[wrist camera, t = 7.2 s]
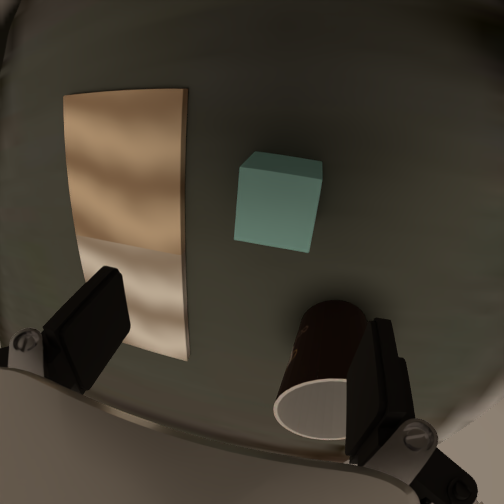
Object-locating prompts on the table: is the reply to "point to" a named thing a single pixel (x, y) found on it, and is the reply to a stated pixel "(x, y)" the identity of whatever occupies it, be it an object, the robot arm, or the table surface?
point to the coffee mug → (320, 371)
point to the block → (278, 200)
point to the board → (133, 204)
